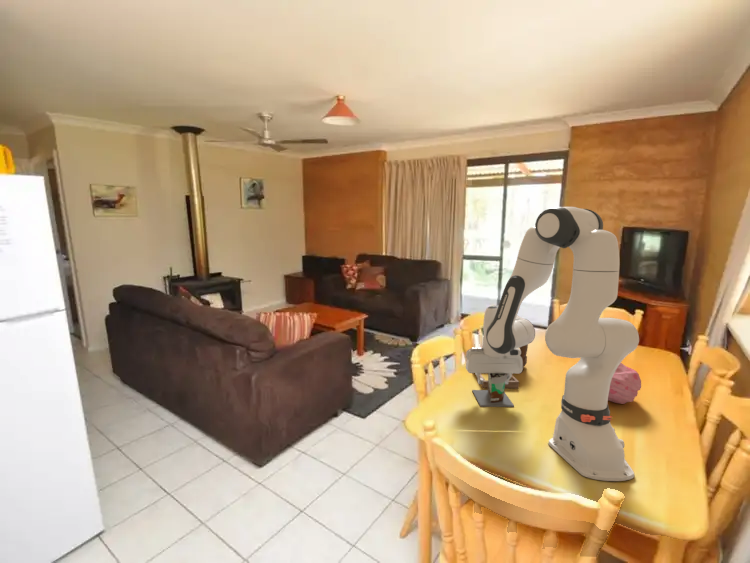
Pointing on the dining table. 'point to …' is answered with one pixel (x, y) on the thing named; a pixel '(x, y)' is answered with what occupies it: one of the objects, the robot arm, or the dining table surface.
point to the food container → (496, 386)
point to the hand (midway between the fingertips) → (492, 383)
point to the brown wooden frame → (512, 384)
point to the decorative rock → (624, 385)
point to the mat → (485, 401)
